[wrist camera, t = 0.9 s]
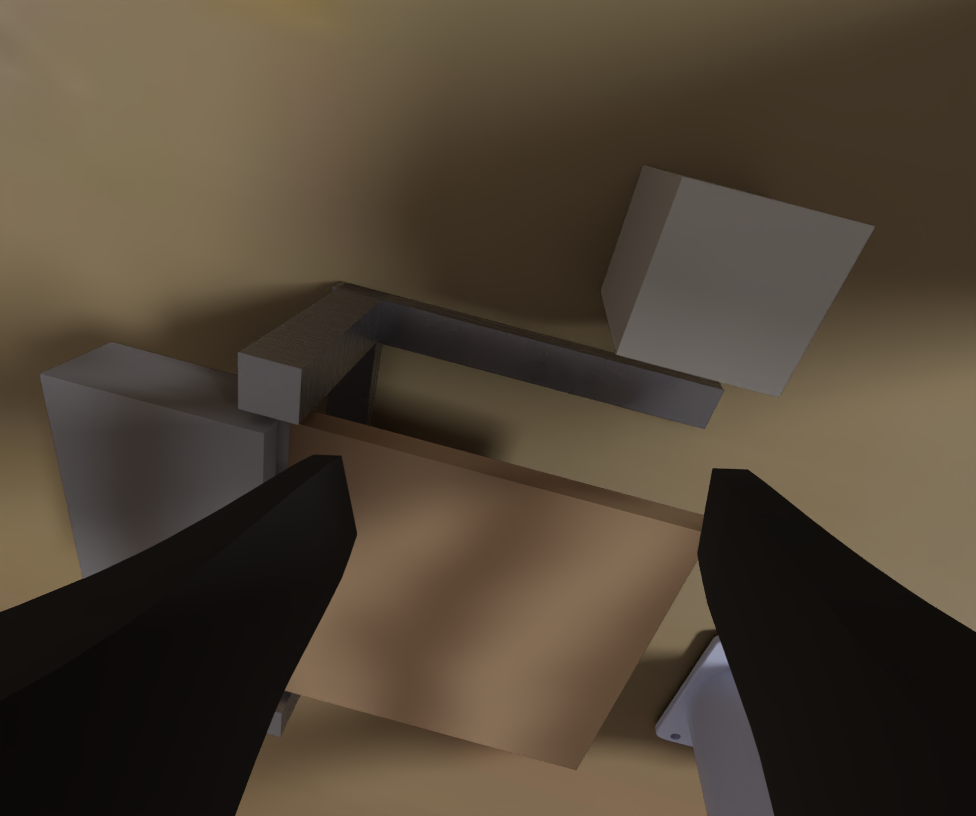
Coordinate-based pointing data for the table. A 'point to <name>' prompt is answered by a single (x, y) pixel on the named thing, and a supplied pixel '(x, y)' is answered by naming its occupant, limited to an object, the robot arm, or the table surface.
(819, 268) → the light grey block
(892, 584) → the robot arm
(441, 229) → the table surface
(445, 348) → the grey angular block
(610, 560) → the trapdoor
